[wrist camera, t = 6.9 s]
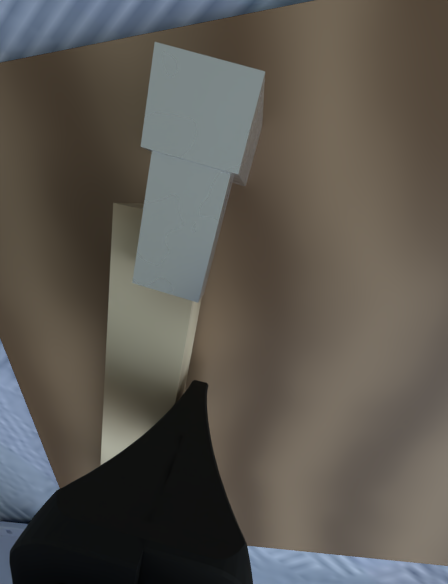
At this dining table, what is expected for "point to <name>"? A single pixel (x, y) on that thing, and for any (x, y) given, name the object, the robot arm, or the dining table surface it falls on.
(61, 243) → the base board
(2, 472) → the dining table surface
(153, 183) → the block
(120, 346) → the swing bar
